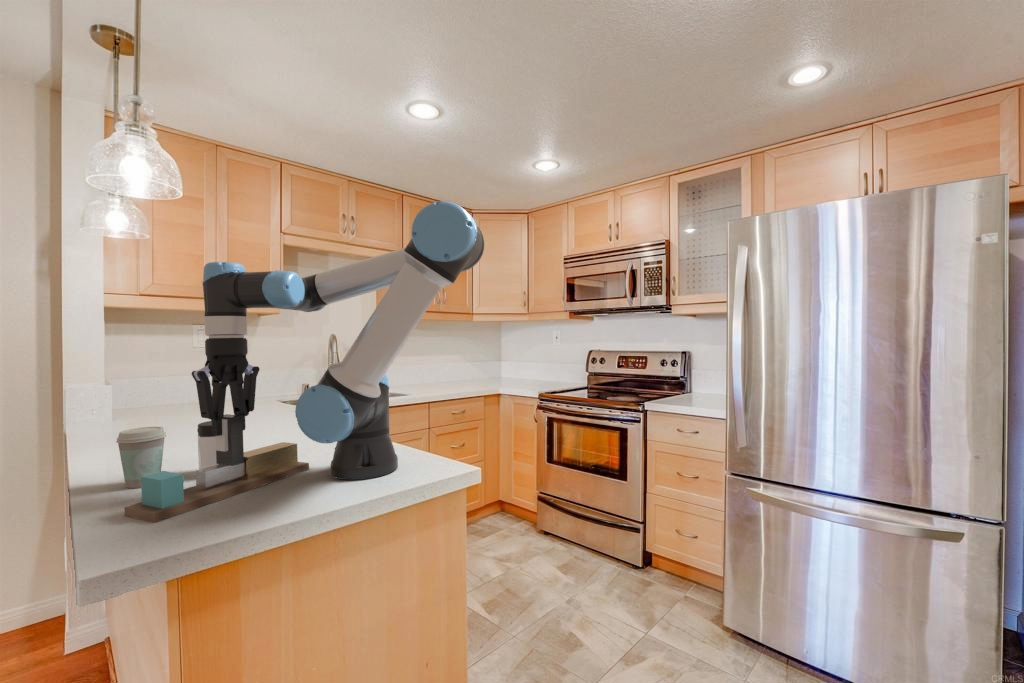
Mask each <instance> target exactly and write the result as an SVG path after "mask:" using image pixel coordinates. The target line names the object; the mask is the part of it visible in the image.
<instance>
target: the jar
mask: <svg viewBox="0 0 1024 683" xmlns="http://www.w3.org/2000/svg"><path fill="white" fill-rule="evenodd" d="M197 447H198V451H197V452H198V455H197V456H198V457H197V458H198V470H200V469H204V468H207V467H211V466H215V465H218V464H216V436H213V434H212V421H211V420H208V421H204V422H201V423H198V425H197Z"/></svg>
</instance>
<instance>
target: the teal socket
mask: <svg viewBox="0 0 1024 683" xmlns="http://www.w3.org/2000/svg"><path fill="white" fill-rule="evenodd" d="M184 489H185V488H184V474H183V473H178V472H171V471H165V470H161V472H158V473H154V474H150V475H146V476H142V477H141V502H142V504H143V505H147V506H152V507H156V508H161V509H163V508H166V507H169V506H172V505H175V504H178V503H181V502H184Z"/></svg>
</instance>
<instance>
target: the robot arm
mask: <svg viewBox="0 0 1024 683" xmlns="http://www.w3.org/2000/svg"><path fill="white" fill-rule="evenodd" d="M412 221H413V222H412V225H411V238H410V240H409V241H408V243H407V245H406V247H402V248H399V249H396V250H393V251H388V252H386V253H382V254H379V255H375V256H372V257H368V258H366V259H362V260H359V261H356V262H351V263H349V264H345V265H342V266H339V267H336V268H332V269H328V270H324V271H321V272H318V273H316V274H312V275H308V276H305V277H300V276H299V273H297V272H296V271H289V270H287V271H286V270H279V269H278V270H272V271H271V270H270V271H256V272H255V271H252V272H251V271H250V272H249V271H248V272H247V271H246V267H245V266H244V265H243V264H242V263H238V262H231V261H230V262H229V261H224V262H223V261H211V262H208V263H205V265H204V267H203V278H202V279H203V280H202V281H201V282H202V289H203V300H204V302H203V303H204V335H205V336H206V337H208V338H206V339H205V340H204V347H205V349H204V354H205V355H206V361H205V363H204V367H202V368H199V369H198V370H192V372H191V376H192V378H193V379H194V381H195V385H196V391H197V399H198V404H199V412H200V417H201V418H203V419H208V420H210V421H212V434H213V436H216V451H224V452H225V451H228V425H227V419H223V417H224V415H225V414H224V413H225V406H226V405H225V403H226V395H227V394H226V393H227V387H228V386H229V390H230V397H231V404H232V405H231V406H232V409H233V415H242V416H243V431H245V430H246V417H247V416H249V414H250V412H253V411H254V410H255V400H256V387H257V377H258V374H259V373H260V371H261V370H260V367H259V366H254V365H251V364H249V361H248V359H247V355H248V352H249V350H248V339H247V338H246V337H245V336H247V335H248V320H247V309H280V310H290V311H291V310H292V311H300V312H304V313H313V312H318V311H322V310H323V309H324V308H325V307H326V306H328V305H331V304H334V303H337V302H340V301H345V300H347V299H352V298H356V297H358V296H362V295H366V294H369V293H372V292H376V291H380V290H383V289H387V288H388V289H387V291H386V293H384V295H383V297H381V298H382V299H381V300H380V302H379V303H378V305H377V307H375V309H374V310H373V312H372V313H371V315H370V316H369V319H368V320H367V321H366V323H365V324H364V326H363V328H362V330H360V332H359V334H358V336H357V337H356V339H355V340H354V342H353V344H351V346H350V348H349V349H348V351H347V353H346V354H345V355H344V357H343V358H342V360H341V361H340V362H337V363H331V364H330V365H329V366H328V368H327V369H326V371H325V372H324V374H323V375H322V377H321V378H320V380H319V381H318V383H317V384H316V385H312V386H310V387H309V388H307V389H306V390H305V391H304V392H302V393H301V395H300V396H299V397H298V399H297V401H296V405H295V418H296V421H297V425H298V427H299V429H300V430H301V431H302V433H303V434H304V435H305V436H306V437H307V438H308V439H310V440H312V441H314V442H316V443H319V444H333V443H336V442H337V443H336V445H335V449H334V453H333V457H332V460H331V461H330V464H329V465H330V467H329V468H330V470H329V471H330V475H331V477H333V478H335V479H340V480H349V481H350V480H365V479H373V478H377V477H378V478H379V477H383V476H385V475H388V474H391V473H392V472H395V471H396V470H397V469H398V467H399V461H398V460H399V459H398V456H397V453H396V452H395V448H394V445H393V442H392V441H393V440H392V439H391V436H390V395H389V394H390V392H389V390H390V385H389V379H388V375H386V373H387V371H388V370H389V368H390V367H391V366H392V364H393V363H394V361H395V360H396V358H397V356H398V355H399V353H400V352H401V350H402V349H403V347H404V345H405V344H406V342H407V341H408V340H409V338H410V337H411V335H412V334H413V332H414V330H415V329H416V327H417V326H418V324H419V323H420V321H421V320H422V318H423V317H424V315H425V314H426V312H427V310H428V309H429V307H430V306H431V304H432V303H433V302H434V300H435V298H436V297H437V295H438V293H439V292H440V290H441V289H442V288H444V287H448V286H452V285H454V283H455V281H456V280H457V279H458V277H459V275H460V274H461V273H463V272H466V271H468V270H471V269H472V268H473V267H475V265H477V264H478V263H479V262H480V260H481V258H482V256H483V254H484V252H485V251H484V250H485V239H484V235H483V233H482V230H481V229H480V228H479V226H478V225H477V223H476V221H475V219H474V217H473V216H472V215H471V214H470V213H469V211H467V210H466V209H464V208H463V207H462V206H461V205H458V204H457V203H455V202H452V201H446V200H445V201H444V200H442V201H435V202H431V203H429V204H427V205H425V206H424V207H423V208H421V209H420V210H419V212H417V214H416V215H415V217H414V219H413V220H412ZM243 375H244V376H243ZM210 377H211V381H210V379H209V378H210ZM211 386H212V387H211Z"/></svg>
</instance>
